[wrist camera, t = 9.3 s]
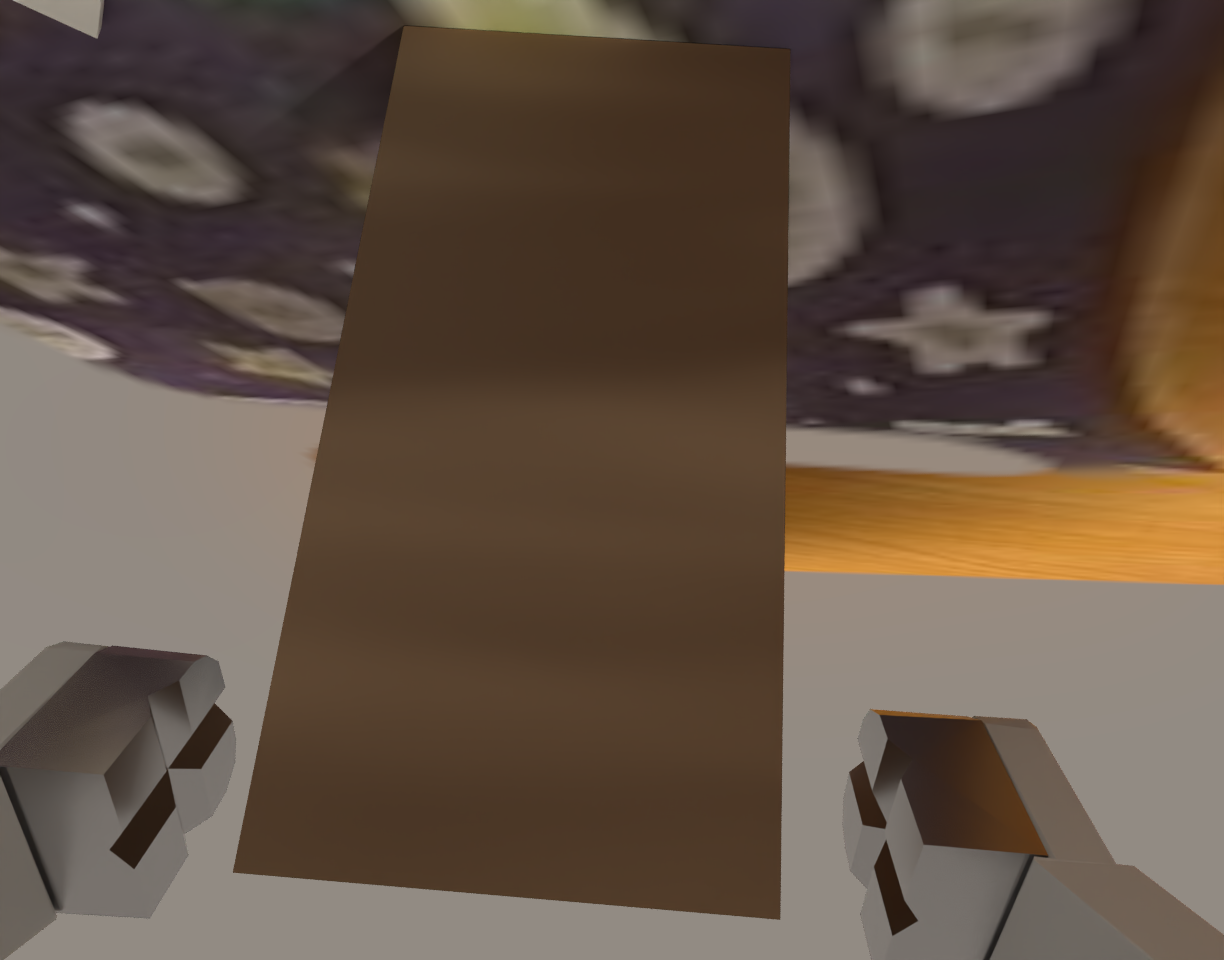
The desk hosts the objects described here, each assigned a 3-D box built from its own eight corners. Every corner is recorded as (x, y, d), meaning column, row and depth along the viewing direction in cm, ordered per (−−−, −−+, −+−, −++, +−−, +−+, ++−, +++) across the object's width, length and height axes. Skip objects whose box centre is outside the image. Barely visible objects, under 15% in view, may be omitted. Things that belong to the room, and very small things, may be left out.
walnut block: (403, 25, 8) (232, 871, 6) (790, 49, 8) (781, 919, 6) (456, 207, 11) (355, 830, 9) (744, 226, 11) (724, 861, 9)
